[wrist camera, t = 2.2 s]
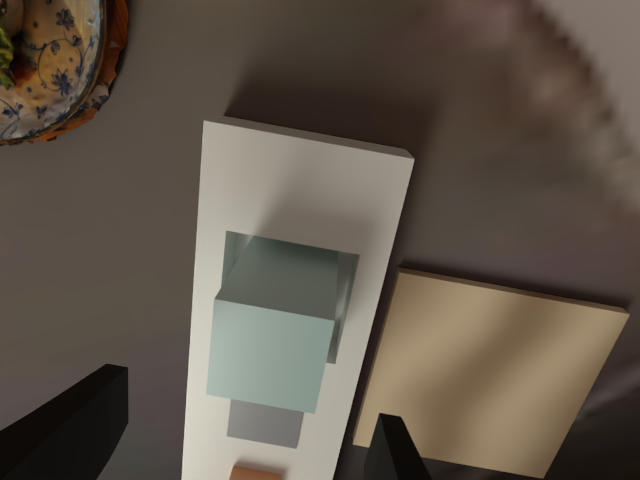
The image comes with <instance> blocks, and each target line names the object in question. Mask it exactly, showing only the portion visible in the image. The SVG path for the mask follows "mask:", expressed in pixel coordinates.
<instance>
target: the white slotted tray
mask: <svg viewBox="0 0 640 480" xmlns="http://www.w3.org/2000/svg"><path fill="white" fill-rule="evenodd" d="M414 160H415V159H414V158H413V157H412V156H411V155H410V153H409V152H408V151H407V150H406V149H402V148H396V147H391V146H385V145H380V144H374V143H369V142H363V141H358V140H353V139H347V138H342V137H336V136H331V135H325V134H320V133H314V132H309V131H303V130H298V129H293V128H287V127H282V126H276V125H271V124H265V123H260V122H254V121H249V120H243V119H238V118H233V117H227V116H220V117H216V118H212V119H208V120H204V125H203V142H202V158H201V174H200V190H199V206H198V222H197V238H196V255H195V271H194V287H193V303H192V319H191V335H190V351H189V368H188V384H187V400H186V416H185V432H184V448H183V464H182V480H332V479H333V475H334V472H335V468H336V464H337V460H338V456H339V452H340V448H341V444H342V440H343V437H344V433H345V429H346V425H347V421H348V417H349V413H350V409H351V405H352V401H353V398H354V394H355V390H356V386H357V382H358V378H359V374H360V370H361V366H362V363H363V359H364V355H365V351H366V347H367V343H368V339H369V335H370V331H371V328H372V324H373V320H374V316H375V312H376V308H377V304H378V300H379V296H380V293H381V289H382V285H383V281H384V277H385V273H386V269H387V265H388V261H389V258H390V254H391V250H392V246H393V242H394V238H395V234H396V230H397V226H398V223H399V219H400V215H401V211H402V207H403V203H404V199H405V195H406V191H407V187H408V184H409V180H410V176H411V172H412V168H413V164H414ZM253 235H254V236H259V237H265V238H270V239H276V240H281V241H287V242H292V243H298V244H303V245H309V246H314V247H319V248H325V249H330V250H336V251H338V268H337V289H336V310H335V323H334V328H333V332H332V337H331V342H330V346H329V351H328V355H327V360H326V365H325V369H324V374H323V379H322V383H321V388H320V392H319V397H318V402H317V406H316V411H315V414H312V413H306V412H301V411H295V410H290V409H284V408H279V407H273V406H268V405H262V404H256V403H251V402H245V401H240V400H234V399H229V398H223V397H217V396H212V395H206V389H207V377H208V365H209V353H210V342H211V330H212V318H213V306H214V298H215V297H216V295H217V293H218V292H219V290H220V289H221V287H222V285H223V284H224V282H225V281H226V279H227V277H228V276H229V274H230V272H231V271H232V269H233V268H234V266H235V264H236V263H237V261H238V259H239V258H240V256H241V255H242V253H243V251H244V250H245V248H246V247H247V245H248V243H249V242H250V240H251V238H252V237H253Z"/></svg>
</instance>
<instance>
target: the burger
mask: <svg viewBox="0 0 640 480" xmlns="http://www.w3.org/2000/svg"><path fill="white" fill-rule="evenodd" d="M128 19H129V15H128V10H127V6H126V2H125V0H0V146H3V145H10V146H12V145H19V144H21V143H23V142H26V141H28V142H29V143H31V144H33V142H34V141H35V140H42V141H45V142H46V141H52V140H56V139H55V137H54V136H57V135H61V134H64V133H66V132H68V131H70V130H73V129H74V128H77V127H79V126H80V125H82V124H84V123H86V122H88V121H89V120H90V119H92V118H93V117H94V115H95V113H96V112H97V111H99V110H98V108H99V107H100V106H101V105H102V104H103V103H104V102H106V101H107V100H108V99H109V96H108V88H109V87H110V85H111V82H112V81H113V79H114V78H115V77H116V73H115V66H116V63H117V61H118V56H119V52H120V51H121V50H122V49H123V48H124V47H125V46H126V44H127V37H128V34H127V24H128Z"/></svg>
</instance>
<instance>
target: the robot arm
mask: <svg viewBox="0 0 640 480" xmlns="http://www.w3.org/2000/svg"><path fill="white" fill-rule="evenodd" d="M127 424H128V367H122V366H117V365H111V364H105V365H104V366H102V367H101V368H99V369H98V370H96V371H94V372H93V373H91V374H90V375H88V376H87V377H85V378H84V379H82V380H81V381H79V382H78V383H76V384H75V385H73V386H72V387H70V388H69V389H67V390H65V391H64V392H62V393H61V394H59V395H58V396H56V397H55V398H53V399H52V400H50V401H48V402H47V403H45V404H44V405H42V406H41V407H39V408H37V409H36V410H34V411H33V412H31V413H30V414H28V415H26V416H25V417H23V418H21V419H20V420H18V421H16V422H15V423H13V424H11V425H10V426H8V427H6V428H4V429H3V430H1V431H0V480H96V479H97V478H98V476H99V475H100V473H101V472H102V470H103V469H104V467H105V465H106V464H107V462H108V461H109V459H110V457H111V455H112V454H113V452H114V450H115V448H116V446H117V444H118V442H119V440H120V438H121V436H122V434H123V432H124V430H125V428H126V426H127ZM364 480H433V479H432V477H431V475H430V473H429V472H428V470H427V468H426V466H425V464H424V462H423V460H422V458H421V456H420V454H419V452H418V450H417V448H416V446H415V444H414V442H413V440H412V438H411V436H410V434H409V431H408V429H407V427H406V425H405V423H404V421H403V419H402V418H401V416H395V415H390V414H384V413H379V416H378V419H377V423H376V426H375V429H374V433H373V436H372V440H371V443H370V446H369V450H368V453H367V457H366V460H365V464H364Z"/></svg>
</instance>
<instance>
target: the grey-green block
mask: <svg viewBox="0 0 640 480" xmlns="http://www.w3.org/2000/svg"><path fill="white" fill-rule="evenodd" d="M337 268H338V251H336V250H330V249H325V248H319V247H314V246H309V245H303V244H298V243H292V242H287V241H281V240H276V239H270V238H265V237H259V236H254V235H253V237H252V238H251V240H250V242H249V243H248V245H247V247H246V248H245V250H244V251H243V253H242V255H241V256H240V258H239V259H238V261H237V263H236V264H235V266H234V268H233V269H232V271H231V272H230V274H229V276H228V277H227V279H226V281H225V282H224V284H223V285H222V287H221V289H220V290H219V292H218V293H217V295H216V297H215V298H214V306H213V318H212V330H211V342H210V353H209V365H208V377H207V389H206V395H212V396H217V397H223V398H229V399H234V400H240V401H245V402H251V403H256V404H262V405H268V406H273V407H279V408H284V409H290V410H295V411H301V412H306V413H312V414H315V411H316V406H317V402H318V397H319V392H320V388H321V383H322V379H323V374H324V369H325V365H326V360H327V355H328V351H329V346H330V342H331V337H332V332H333V328H334V323H335V310H336V289H337Z"/></svg>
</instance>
